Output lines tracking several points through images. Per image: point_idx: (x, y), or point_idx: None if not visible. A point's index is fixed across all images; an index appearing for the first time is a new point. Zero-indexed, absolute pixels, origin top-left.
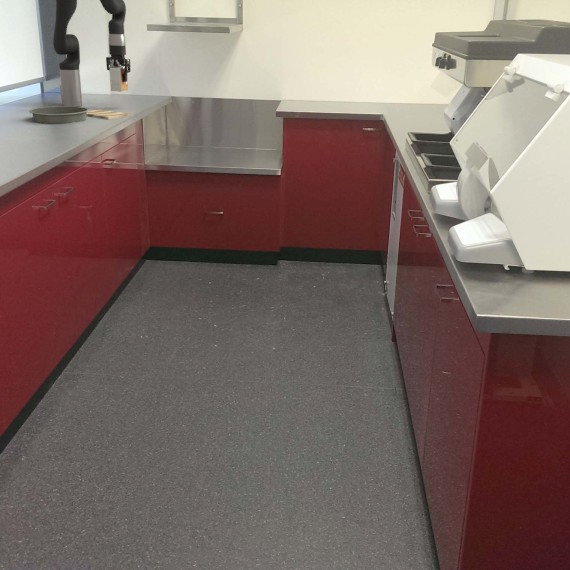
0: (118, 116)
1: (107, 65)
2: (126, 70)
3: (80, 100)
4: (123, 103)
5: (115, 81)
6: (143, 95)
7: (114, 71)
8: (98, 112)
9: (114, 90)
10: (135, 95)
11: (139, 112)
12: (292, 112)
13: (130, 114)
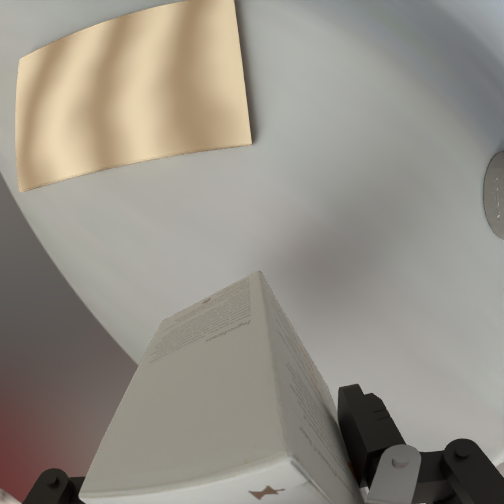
0: (17, 113)
1: (486, 487)
2: (35, 484)
3: (502, 214)
4: (409, 410)
5: (192, 342)
6: None
7: (174, 440)
8: (154, 69)
9: (222, 290)
10: None
11: (99, 307)
12: (7, 497)
13: (20, 191)
